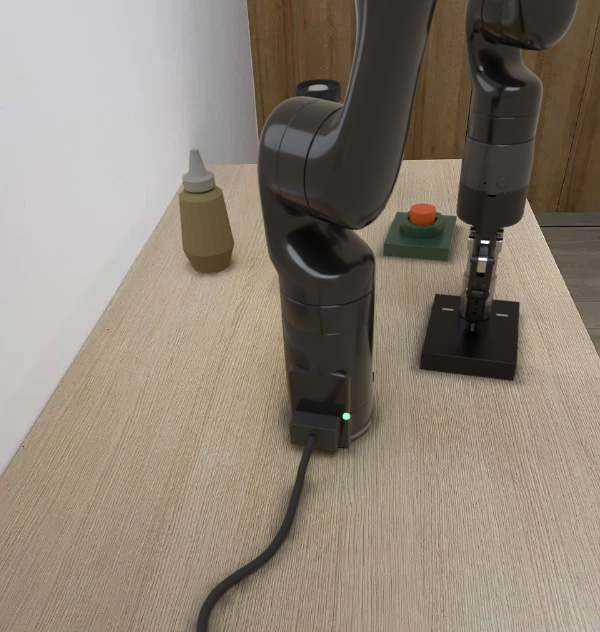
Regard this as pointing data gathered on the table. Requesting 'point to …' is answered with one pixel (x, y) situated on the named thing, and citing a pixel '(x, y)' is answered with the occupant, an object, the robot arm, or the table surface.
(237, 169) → the table surface
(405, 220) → the button housing
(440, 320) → the panel
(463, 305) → the cooker knob
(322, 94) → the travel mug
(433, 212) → the button
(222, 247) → the squeeze bottle
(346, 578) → the table surface
